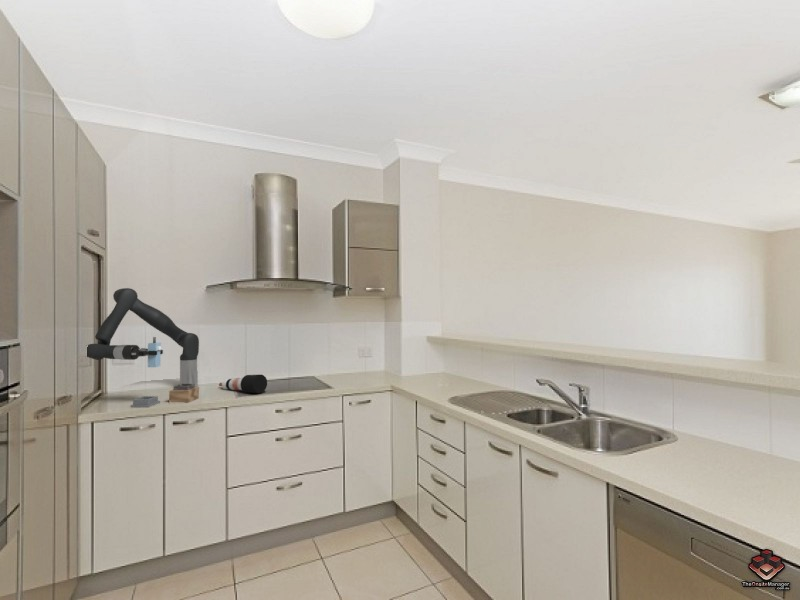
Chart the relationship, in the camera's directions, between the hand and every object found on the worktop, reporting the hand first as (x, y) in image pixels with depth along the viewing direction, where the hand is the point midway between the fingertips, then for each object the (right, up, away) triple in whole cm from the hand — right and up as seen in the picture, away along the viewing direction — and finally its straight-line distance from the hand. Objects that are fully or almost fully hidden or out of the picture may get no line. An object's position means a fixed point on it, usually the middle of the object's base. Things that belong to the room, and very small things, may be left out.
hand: (159, 352), depth 204 cm
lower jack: (-6, -26, -2) cm, 27 cm away
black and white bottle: (+29, -27, +30) cm, 49 cm away
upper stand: (+9, -26, +7) cm, 29 cm away
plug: (-3, -7, 0) cm, 8 cm away
